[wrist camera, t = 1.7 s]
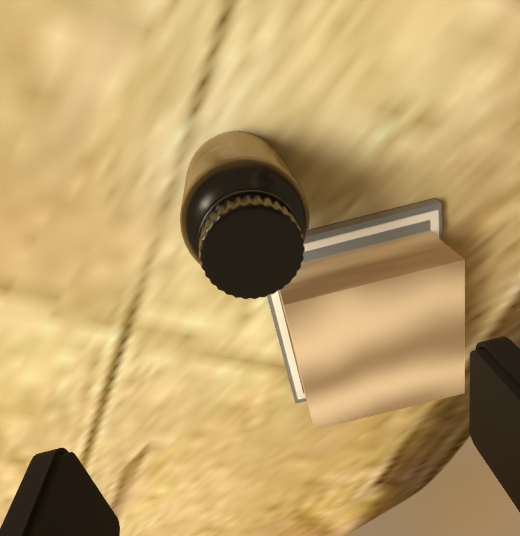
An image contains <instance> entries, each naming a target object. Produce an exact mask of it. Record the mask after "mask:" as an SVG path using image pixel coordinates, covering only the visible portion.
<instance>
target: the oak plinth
mask: <svg viewBox="0 0 520 536" xmlns="http://www.w3.org/2000/svg"><path fill="white" fill-rule="evenodd" d="M279 292H280V296H281V300H282V304H283V308H284V313H285V317H286V321H287V325H288V329H289V333H290V337H291V341H292V345H293V349H294V353H295V357H296V361H297V365H298V369H299V373H300V377H301V381H302V385H303V389H304V393H305V397H306V400H307V404H308V408H309V412H310V415H311V419H312V423H313V426H314V430H317V429H321V428H325V427H329V426H333V425H337V424H341V423H345V422H349V421H353V420H357V419H361V418H365V417H370V416H374V415H378V414H382V413H386V412H390V411H394V410H398V409H402V408H406V407H410V406H414V405H418V404H422V403H426V402H431V401H435V400H439V399H443V398H447V397H451V396H455V395H459V394H463V393H464V388H465V259H464V258H463V257H461V256H460V255H459V254H458V253H456V252H455V251H454V250H453V249H452V248H450V247H449V246H448V245H447V244H445V243H444V242H443V241H442V240H440V239H439V238H438V237H437V236H435V235H434V234H433V233H432V232H431V231H425V232H421V233H417V234H413V235H409V236H405V237H401V238H397V239H393V240H389V241H385V242H381V243H378V244H374V245H370V246H366V247H362V248H358V249H354V250H350V251H346V252H342V253H338V254H334V255H330V256H326V257H322V258H318V259H315V260H311V261H307V262H303V263H301V268H300V269H299V270H298V271H297V275H296V276H295V277H294V278H293V279H292V280H291V282H290V283H289V284H287V285H285V286H284V288H283V289H281V290H279Z"/></svg>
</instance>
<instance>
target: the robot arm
mask: <svg viewBox="0 0 520 536" xmlns="http://www.w3.org/2000/svg"><path fill="white" fill-rule="evenodd" d="M470 435H471V438H472V440H473V443H474V445H475V446H476V448H477V450H478V451H479V452H480V454H481V456H482V457H483V458H484V460H485V461H486V463H487V464H488V466H489V467H490V469H491V470H492V472H493V473H494V475H495V476H496V478H497V479H498V481H499V482H500V483H501V485H502V486H503V488H504V489H505V491H506V492H507V494H508V495H509V497H510V498H511V500H512V501H513V503H514V504H515V506H516V507H517V509H518V510H519V512H520V349H519V348H518V347H517V346H516V345H515V344H514V343H513V342H512V341H511V340H510V339H508V338H507V337H504V336H503V337H499V338H495V339H491V340H488V341H484V342H480V343H478V344H477V345H476V350H475V351H472V352H471V353H470ZM119 534H120V526H119V521H118V518H117V517H116V515H115V514H114V512H113V511H112V509H111V508H110V506H109V505H108V503H107V502H106V500H105V499H104V497H103V496H102V494H101V492H100V491H99V489H98V488H97V486H96V485H95V483H94V482H93V480H92V479H91V477H90V476H89V474H88V473H87V471H86V470H85V468H84V467H83V465H82V464H81V462H80V461H79V459H78V458H77V456H76V455H75V454H74V453H73V452H70V453H69V452H68V451H67V450H66V449H64V448H59V449H55V450H51V451H47V452H43V453H39V454H36V455H35V456H34V457H33V459H32V460H31V462H30V464H29V466H28V469H27V471H26V473H25V475H24V477H23V480H22V482H21V484H20V486H19V489H18V491H17V493H16V495H15V497H14V500H13V502H12V504H11V506H10V508H9V511H8V513H7V515H6V517H5V519H4V522H3V524H2V526H1V528H0V536H119Z"/></svg>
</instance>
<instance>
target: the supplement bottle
mask: <svg viewBox="0 0 520 536" xmlns="http://www.w3.org/2000/svg"><path fill="white" fill-rule="evenodd" d="M180 223H181V232H182V236H183V239H184V242H185V245H186V247H187V249H188V250H189V252H190V254H191V255H192V256H193V258H194V259H195V260H196V261H197V262H198V263H199V264H200V265H201V267H202V269H203V270H204V271H205V275H206V277H208V278H209V279H210V281H211V283H212V284H213V285H216V286H217V288H218V289H219V290H222V291H224V292H225V293H226V294H228V295H233V296H234V297H236V298H239V297H241V298H244V299H248V298H253V299H256V298H258V297H266V296H267V295H269V294H274V293H276V292H277V291H278V290H281V289H283V288H284V286H285V285H287V284H289V283H290V282H291V280H292V279H293V278H294V277H295V276H296V275H297V271H298V270H299V269H300V268H301V262H302V261H303V259H304V256H303V253H304V251H305V247H304V245H303V244H304V242H305V239H306V236H307V233H308V228H309V209H308V204H307V201H306V198H305V195H304V193H303V191H302V189H301V187H300V185H299V184H298V182H297V181H296V179H295V178H294V176H293V175H292V174H291V172H290V171H289V169H288V168H287V166H286V165H285V163H284V162H283V161H282V159H281V158H280V156H279V155H278V154H277V152H276V151H275V150H274V149H273V148H272V147H271V146H270V145H269V144H268V143H267V142H265V141H264V140H263V139H261V138H259V137H257V136H255V135H252V134H249V133H244V132H228V133H223V134H220V135H218V136H215V137H213V138H211V139H210V140H208V141H207V142H205V143H204V144H203V145H202V146H201V147H200V148H199V149H198V150H197V152H196V153H195V155H194V156H193V158H192V160H191V162H190V165H189V168H188V172H187V176H186V182H185V188H184V194H183V201H182V207H181V217H180Z"/></svg>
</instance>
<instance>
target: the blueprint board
mask: <svg viewBox="0 0 520 536" xmlns="http://www.w3.org/2000/svg"><path fill="white" fill-rule="evenodd" d="M425 231H431V232H432V233H433V234H434V235H435V236H437V237H438V238H439V239H440V240H442V241H443V238H442V202H440V201H439V200H437V199H436V198H433V199H430V200H426V201H422V202H418V203H414V204H410V205H406V206H402V207H398V208H394V209H390V210H386V211H382V212H379V213H375V214H371V215H367V216H363V217H359V218H355V219H351V220H347V221H343V222H339V223H335V224H332V225H328V226H324V227H320V228H316V229H312V230H308V233H307V236H306V239H305V242H304V244H303V245H304V247H305V251H304V253H303V256H304V259H303V261H302V262H301V263H303V262H307V261H311V260H315V259H318V258H322V257H326V256H330V255H334V254H338V253H342V252H346V251H350V250H354V249H358V248H362V247H366V246H370V245H374V244H378V243H381V242H385V241H389V240H393V239H397V238H401V237H405V236H409V235H413V234H417V233H421V232H425ZM267 297H268V301H269V305H270V308H271V312H272V316H273V320H274V324H275V327H276V331H277V335H278V339H279V342H280V346H281V350H282V354H283V358H284V361H285V365H286V369H287V373H288V376H289V380H290V384H291V388H292V392H293V395H294V399H295V403H300V402H304V401H307V400H306V397H305V393H304V389H303V385H302V381H301V377H300V373H299V369H298V365H297V361H296V357H295V353H294V349H293V345H292V341H291V337H290V333H289V329H288V325H287V321H286V317H285V313H284V308H283V304H282V300H281V296H280V292H279V290H278V291H277V292H276V293H274V294H269V295H267Z"/></svg>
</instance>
